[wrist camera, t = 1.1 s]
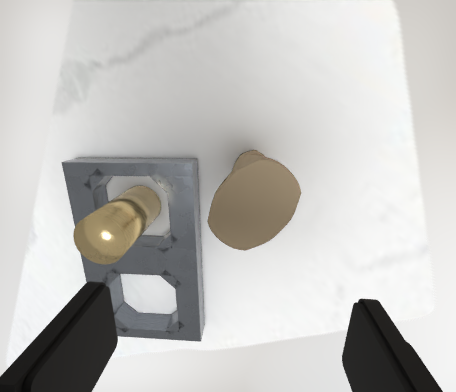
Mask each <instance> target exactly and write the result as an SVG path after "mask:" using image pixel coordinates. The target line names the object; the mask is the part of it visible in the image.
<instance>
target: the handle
mask: <svg viewBox="0 0 456 392" xmlns="http://www.w3.org/2000/svg"><path fill="white" fill-rule="evenodd" d="M300 195H301V190H300V186H299V184H298V182H297V180H296V179H295V177H294V176H293V174H292V173H291V172H290V171H289V170H288V169H287V168H286V167H285V166H284V165H282V164H281V163H279V162H277V161H275V160H273V159H270V158H266V157H265V156H264V155H263V154H261V153H259V152H257V151H256V150H252V151H248V152H245V153H242V154H241V155H240V156H239V158H238V159H237V160H236V162H235V164H234V167H233V170H232V172H231V173H230V174H229V175H228V177H227V178H226V179H225V180H224V181H223V183H222V184H221V185H220V186H219V188H218V189H217V191H216V193H215V195H214V198H213V201H212V204H211V208H210V212H209V217H208V224H209V227H210V229H211V231H212V232H213V233H214V235H215V236H216V237H217V238H218V239H219V240H220V241H222V242H223V243H225V244H226V245H228V246H230V247H232V248H234V249H238V250H248V249H251V248H254V247H256V246H259V245H261V244H264V243H266V242H268V241H270V240H271V239H272V238H274V237H275V236H276V235H277V234H278V233H279V232H280V231H281V230H282V229H283V228H284V227H285V226H286V225H287V224H288V222H289V221H290V220H291V218H292V216H293V214H294V212H295V210H296V207H297V204H298V201H299V198H300Z"/></svg>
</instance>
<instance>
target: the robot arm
mask: <svg viewBox="0 0 456 392" xmlns="http://www.w3.org/2000/svg"><path fill="white" fill-rule="evenodd" d="M117 341H118V337H117V331H116V324H115V318H114V312H113V306H112V299H111V293H110V288H109V287H108V286H106V284H105V283H104V282H94V281H89V282H87V283H86V284H85V285H84V286H83V287H82V288H81V289H80V291H79V292H78V293H77V294H76V295H75V296H74V297H73V298H72V299H71V300H70V301H69V302H68V304H67V305H66V306H65V307H64V308H63V309H62V310H61V311H60V312H59V313H58V314H57V316H56V317H55V318H54V319H53V320H52V321H51V322H50V323H49V324H48V325H47V326H46V328H45V329H44V330H43V331H42V332H41V333H40V334H39V335H38V336H37V337H36V338H35V340H34V341H33V342H32V343H31V344H30V345H29V346H28V347H27V348H26V349H25V350H24V352H23V353H22V354H21V355H20V356H19V357H18V358H17V359H16V360H15V361H14V362H13V364H12V365H11V366H10V367H9V368H8V369H7V370H6V371H5V372H4V373H3V374H2V375H1V377H0V392H92V390H93V388H94V386H95V385H96V383H97V381H98V379H99V377H100V376H101V374H102V372H103V370H104V368H105V367H106V365H107V363H108V361H109V359H110V357H111V356H112V354H113V352H114V350H115V348H116V346H117ZM342 361H343V367H344V370H345V373H346V375H347V378H348V381H349V383H350V386H351V389H352V392H443V391H442V390H441V388H440V387H439V386H438V384H437V382H436V381H435V379H434V378H433V376H432V375H431V374H430V372H429V371H428V369H427V368H426V366H425V365H424V363H423V362H422V360H421V359H420V357H419V356H418V354H417V353H416V352H415V350H414V349H413V347H412V346H411V345H410V344H409V343H407V342H406V341H405V340H404V338H403V337H402V335H401V334H400V332H399V331H398V329H397V328H396V326H395V325H394V323H393V322H392V320H391V319H390V317H389V316H388V314H387V313H386V311H385V310H384V308H383V307H382V305H381V304H380V302H379V301H378V300H373V299H359V301H358V303H354V305H353V309H352V313H351V318H350V323H349V327H348V332H347V337H346V341H345V346H344V350H343V355H342Z"/></svg>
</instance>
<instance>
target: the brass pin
mask: <svg viewBox="0 0 456 392" xmlns="http://www.w3.org/2000/svg"><path fill="white" fill-rule="evenodd" d="M160 210H161V202H160V199H159V197H158V195H157V194H156V193H155V192H154V191H153V190H151V189H150V188H148V187H145V186H134V187H132V188H130V189H128V190H127V191H125V192H124V193H122V194H121V195H119V196H118V197H116V198H115V199H113V200H111V201H110V202H108V203H107V204H105V205H104V206H102V207H101V208H99V209H97V210H96V211H94V212H93V213H91V214H90V215H88V216H87V217H85V218H84V219H82V220H81V221H79V222H78V224H77V225H76V227H75V229H74V242H75V245H76V247H77V249H78V250H79V251H80V253H81V254H82V255H83V256H84V257H86V258H87V259H88V260H90V261H92V262H95V263H98V264H111V263H114V262H116V261H118V260H119V259H120V258H121V257H122V256H123V255H124V254H125V253H126V252H127V250H128V249H129V248H130V247H131V246H132V245H133V244H134V242H135V241H136V240H137V239H138V238H139V237H140V236H141V234H142V233H143V232H144V231H145V230H146V229H147V228H148V227H149V225H150V224H151V223H152V222H153V221H154V220H155V219H156V217H157V216H158V215H159V213H160Z"/></svg>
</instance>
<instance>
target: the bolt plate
mask: <svg viewBox="0 0 456 392" xmlns="http://www.w3.org/2000/svg"><path fill="white" fill-rule="evenodd" d="M62 166H63V171H64V176H65V181H66V185H67V190H68V195H69V200H70V205H71V209H72V214H73V219H74V224H75V227H76V225H77V224H78V222H79V221H81V220H82V219H84V218H85V217H87V216H88V215H90V214H91V213H93V212H94V211H96V210H97V209H99V208H101V207H102V206H104V205H105V204H107V203H108V197H107V190H106V184H107V182H108V181H109V180H110V179H111V178H112V177H113V176H150V177H151V178H152V179H153V180H154V181H155V182H156V183H157V184H158V185H159V186H161V187H162V188H163V189H164V190H165V191H166V192H167V193H168V205H169V217H170V229H171V230H170V231H169V232H168V233H167V234H166V235H165V236H140V237H139V238H138V239H137V240H136V241H135V242H134V244H133V245H132V246H131V247H130V248H129V249H128V250H127V252H126V253H125V254H124V255H123V256H122V257H121V258H120V259H119V260H118V261H116V262H114V263H111V264H98V263H95V262H92V261H90V260H88V259H87V258H86V257H84V256H83V255H82V254H81V257H82V262H83V267H84V272H85V277H86V281H87V282H89V281H94V282H104V283H105V284H106V286H108V287H109V288H110V293H111V299H112V306H113V312H114V318H115V324H116V331H117V336H123V337H139V338H155V339H171V340H186V341H201V339H202V334H203V329H204V325H205V324H204V301H203V278H202V256H201V233H200V210H199V187H198V165H197V159H187V158H75V159H72V160H68V161H64V162H62ZM120 274H142V275H160V276H161V277H162V278H163V279H165V280H166V281H167V282H168V283H169V284H171V285H172V286H173V287H174V288H175V289H176V301H177V311H175V312H174V313H173V314H172V315H168V314H150V313H138V312H137V311H135V310H134V309H133V308H132V307H130V306H129V305H128V304H127V303H125V302H124V297H123V291H122V284H121V278H120Z"/></svg>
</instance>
